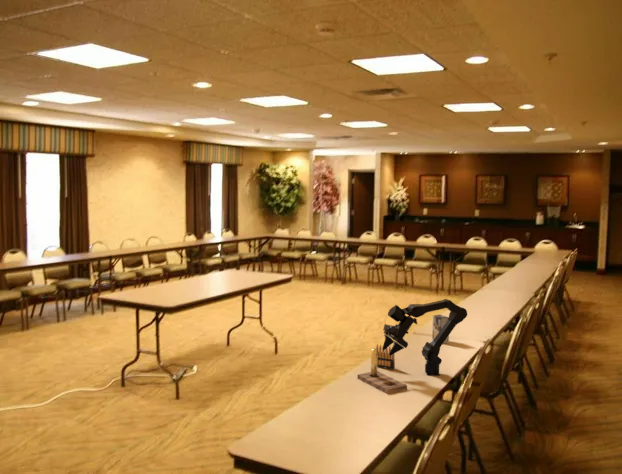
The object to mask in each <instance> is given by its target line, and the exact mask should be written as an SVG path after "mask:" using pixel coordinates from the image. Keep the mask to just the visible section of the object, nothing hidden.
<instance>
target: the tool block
mask: <svg viewBox="0 0 622 474" xmlns="http://www.w3.org/2000/svg"><path fill="white" fill-rule="evenodd" d="M356 376H357V378H356V379H358V380H360V381H361V382H363V383H366V384H368V385H369V386H371V387H373V388H375V389H376V390H379V391H380V392H383V393H384V394H386V395H388V394H392V393H397V392H402V391H405V390H407V389H408V385H407V384H405V383H403V382H400V381H399V380H397V379H394V378H393V377H390V376H388V375H386V374H384V373H382V372H380V371H378V370H377V377H374V378H373V377H371V371H369V372H363V373H358V374H357V375H356Z"/></svg>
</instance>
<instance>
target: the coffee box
mask: <svg viewBox="0 0 622 474" xmlns="http://www.w3.org/2000/svg"><path fill="white" fill-rule="evenodd" d="M448 319H449V316H445V315H442V314H435V315H432V339H431V340H432V341H433V340H434V339H435V337H436V336H437V334H438V333H439V332H440V330H441V329H442V327H443V326H444V325H445V323H446V322H447V320H448ZM449 339H450V335H449V336H448V337H447V338H446V340H445V341H444V343H443V344H449ZM432 341H431V342H432ZM443 344H442V345H443Z"/></svg>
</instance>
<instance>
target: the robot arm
mask: <svg viewBox="0 0 622 474" xmlns="http://www.w3.org/2000/svg"><path fill="white" fill-rule="evenodd" d="M444 309H447V310H448V311H449V314H448V317H449V319H448V320H447V322H446V323H445V325H444V326H443V327H442V329H441V330H440V332H439V333H438V334H437V336H436V337H435V339H434V340H433V341H430V342H428V341H426V342H425V345H424V346H422V350H421V354H422V356H423V357H424V359H425V361H426V363H425V364H424V372H425V374H426V376H441V374H440V365H441V363H442V361H443V360H442V358H440V357H439V354H440V350H441V347H442V345H443V343H444V341H445V340H446V338H447V337H448V336H449V337H450V334H451V333H452V331H454V330H455V327H456V326H457V325H458V324H460V323H461V322H463V321H464V320H465V319H466V318H467V317H468V310H467V309H466V308H464V307H462V306H459V305H457V304H456V303H454V302H453V301H452V300H450V299H447V298H445V299H442V300H437V301H432V302H429V303H423V304H422V303H409V304H408V306H407V307H404V308H400V306H399V305H397V304H395V305H394V306H392V307H391V308H390V309H389V310H388V312H387V316H388V317H389V318H391V319H392V320H394V321H395V322H397V323H398V324H397V323H396V324H395V325H392V324H386V323H384V325H383V330H382V331H383V336H384V342H383V345H382V347H383V348H382V347H381V351H382V350H385V349H386V348H389V346H390V347H391V345H392V344H393V345H392V347H391V351H390V353H389V355H390V356H391V355H393V354H394V355H395V354H396V353H397V352H399V351H401V350H403V349H407V348H408V346H409V343H408V341H406V340H405V339H404V337H405V335H406V334H407V335H408V334H409V330H410V328H411V327H412V326H413V324H415V325H418V319H417V318H419V317H423V316H424V315H425V314H427V313H431V312H436V311H438V310H439V311H440V310H444ZM444 344H445V343H444Z"/></svg>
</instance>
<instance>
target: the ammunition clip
mask: <svg viewBox="0 0 622 474" xmlns="http://www.w3.org/2000/svg"><path fill="white" fill-rule="evenodd" d="M382 348H383V346H382V345H381V344H380V345H378V344H376V348H375V349H378V363H377V368H382V369H388V370H395V367H396V365H395V364H396V363H395V353H394V354H393V355H391V356H390V355H389V353H390V351H391V349H392V347H391V345H390V346H389V347H387V348H386V349H385V350H382Z"/></svg>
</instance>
